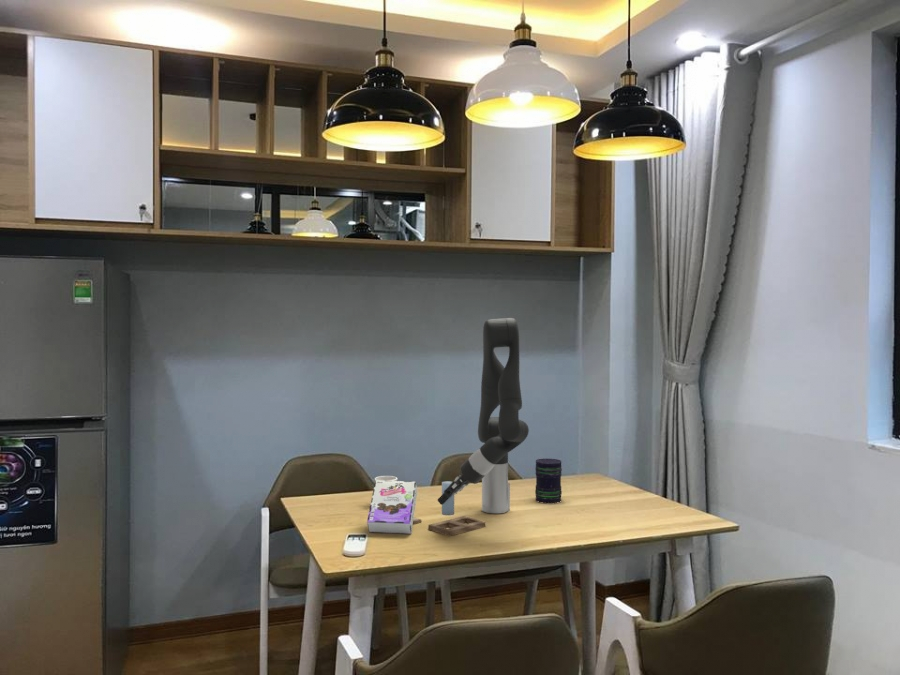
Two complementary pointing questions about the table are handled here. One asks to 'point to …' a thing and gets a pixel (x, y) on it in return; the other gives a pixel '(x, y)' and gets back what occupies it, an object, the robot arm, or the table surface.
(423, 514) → the table surface
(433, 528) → the socket board
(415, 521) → the strip
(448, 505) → the blue pin
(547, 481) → the storage jar
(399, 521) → the candy box
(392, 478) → the dixie cup
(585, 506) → the table surface
